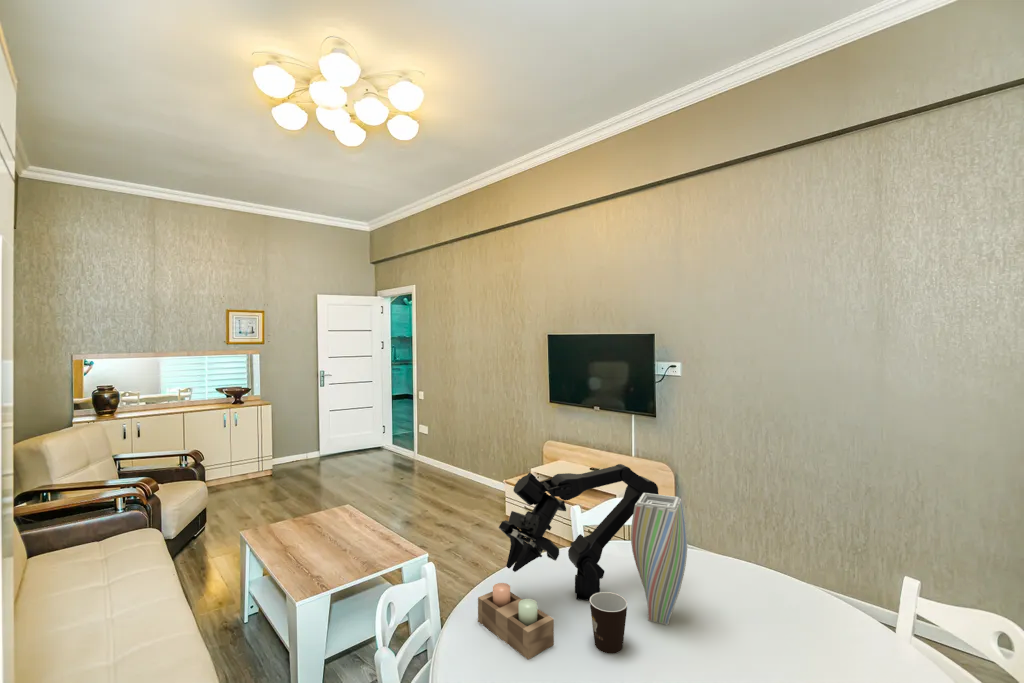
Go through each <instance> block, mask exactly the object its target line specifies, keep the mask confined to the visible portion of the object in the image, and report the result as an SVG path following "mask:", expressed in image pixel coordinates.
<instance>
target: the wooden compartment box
mask: <svg viewBox="0 0 1024 683" xmlns="http://www.w3.org/2000/svg"><path fill="white" fill-rule="evenodd" d="M521 600H523V599H522V597H519V596H518V595H516V594H515V593H513V592H511V591H510V603H509V604H507V605H505V606H503V607H500V608H499V607H498V606H496V605H495V604H493V590H492V591H490V592H488V593H485V594H483V595H480V596H478V597H477V623H479V624H481V626H484V628H486V629H487V630H489V631H490V632H491V633H493V635H495V636H497V637H498V638H499V639H500V640H501V641H502V642H504V643H506V645H508V646H510V648H512V649H514V650H515V651H516V652H517V653H519V654H520V655H522V656H523V657H524V658H526V659H527V660H530V659H532V658H534V657H536V656H537V655H539V654H541V653H542V652H544V651H546V650H548V649H550V648H552V647H553V646H554V645H555V618H553V617H552V616H550V615H549V614H547V613H545V612H544V611H542V610H540V609H538V608H537V622H535V623H533V624H531V625H529V626H526V625H524V624H523V623H521V622H520V621H519V602H520V601H521Z"/></svg>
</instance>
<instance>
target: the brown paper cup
mask: <svg viewBox="0 0 1024 683" xmlns="http://www.w3.org/2000/svg"><path fill="white" fill-rule="evenodd" d="M589 606H590V607H589V608H590V616H591V624H592V632H593V640H594V646H595V648H596V649H597V650H598V651H600V652H602V653H604V654H610V655H611V654H612V655H614V654H618V653H620V652H621V651H622V650H623V648H624V647H623V646H624V638H625V629H626V622H627V610H628V601H627V599H626V598H625V597H623V596H622V595H620V594H618V593H616V592H610V591H602V592H601V591H600V592H599V593H594V594H593V595H592V596H591V597H590V601H589Z"/></svg>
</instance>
